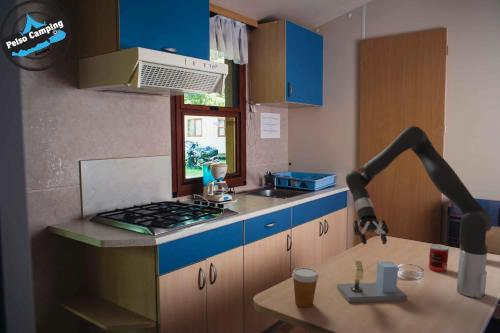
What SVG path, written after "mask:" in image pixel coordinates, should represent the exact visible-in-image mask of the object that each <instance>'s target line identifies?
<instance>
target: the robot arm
mask: <svg viewBox="0 0 500 333" xmlns="http://www.w3.org/2000/svg"><path fill="white" fill-rule="evenodd" d="M408 150H411V151H413V153H414V154H415V155H416V157H418V159H419V160H420V161H421V163H422V165H423V167H424V169H425V170H424V171H426V173H427V175H428V177H429V179H430V180H431V182H432V183H433V185H434V186H435V188H436V189H437V190H438V191H439V192H440V193H441V194H442V195H443V196H445V197H446V198H447V199H448V200H450V201H451V202H452V203H453V204H454V205H455V206H456V207H457V209H459V211H460V212H461V214H462V215H463V216H462V217H461V219H460V222H459V223H460V224H459V236H458V237H459V238H458V239H459V240H458V241H459V253H460V256H459V258H458V259H459V260H458V270H457V280H456V292H457V291H458V292H459V293H458V292H457V293H458V294H460V293H461V294H460V295H462V294H463V295H462V296H465V295H466V296H465V297H468V296H471V297H470V298H474V297H477V298H476V299H479V298H480V297H481V298H482V297H484V296H485V295H484V294H486V286H487V285H486V284H487V275H488V273H487V271H486V267H487V257H488V246H487V244H486V237H487V236H486V235H487V232H489V231H490V230H491V229H492V227H493V219H492V216H491V215H490V214H489V213H488V211H487V210H485V209H484V208H483V206H482V205H481V204H480V203H479V202H478V201H477V200H476V198H474V196H473V195H472V194H471V192H470V191H469V189H468V188H467V186H466V185H465V184H464V182H463V181H462V180H461V179H460V177H459V175H458V174H457V173H456V171H455V170H454V169H453V168H452V167H451V165H450V164H449V163H448V162H447V161H446V160H445V158H444V157H442V156H441V155H440V154H439V152H438V151H437V150H436V149H435V147H434V145H433V144H432V142H431V141H430V139H429V137H428V135H427V133H426V132H425V131H424V130H423V129H422V128H420V127H419V126H415V125H412V126H408V127H406V128H405V129H404V130H403V131H402V132H401V133H400V134H399V135H398V136H397V137H396V138H395V139H394V140H393V141H392V142H391V143H390V144H389V145H388V146H386V148H385V149H383V150H382V151H381V152H379V153H378V154H377V155H375V156H374V157H373V158H372V159H370V160H368V161H367V162H366V163H365V164H364V165H363V167H362V168H363V172H362V173H360V172H359V171H357V170H350V171H348V172H347V173H346V176H345V182H346V185H347V187H348V189H349V191H350V194H351V195H352V198H353V202H354V206H355V207H354V208H355V212H356V215H357V218H358V220H354V221H353V223H352V228H353V231H354V235H355V236H359V237H360V241H361V243H362V245H366V244H367V238H366V234H365V233H366V232H367V233H369V232H372V233H373V232H374V233H376V234H378V236H380V239H381V240H380V241H381V242H382V245H386V244H387V242H388V239H387V236H388V234H389V232H390V231H389V230H390V229H389V228H388V224H387V223H386V221H385V220H384V219H382V220H381V221H379V220H378V218H377V215H376V211H375V208H374V205H373V202H372V200H371V198H370V197H371V196H370V194H369V191H368V190H367V188H366V187H367V186H368V185H369V184H370V183H371V182H372V181H373V179H374V178H375V177H376V176H378V175H379V174H380V173H382V172H383V171H385V169H386V168H388V167H389V166H390V165H391V164H392V162H394V161H395V159H396V158H397V157H399V156H400V155H401V154H403V153H405V152H406V151H408ZM359 226H360V227H361V228H362V229H361V231H360V228H359ZM483 295H484V296H483ZM481 298H480V299H481Z"/></svg>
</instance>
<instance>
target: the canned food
mask: <svg viewBox="0 0 500 333" xmlns="http://www.w3.org/2000/svg"><path fill="white" fill-rule="evenodd" d="M428 256H429V258H428V269H429V270H430V271H432V272H435V273H439V272H444V273H447V269H448V261H449V247H448V246H446V245H444V244H438V243H433V244H430V246H429V255H428Z"/></svg>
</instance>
